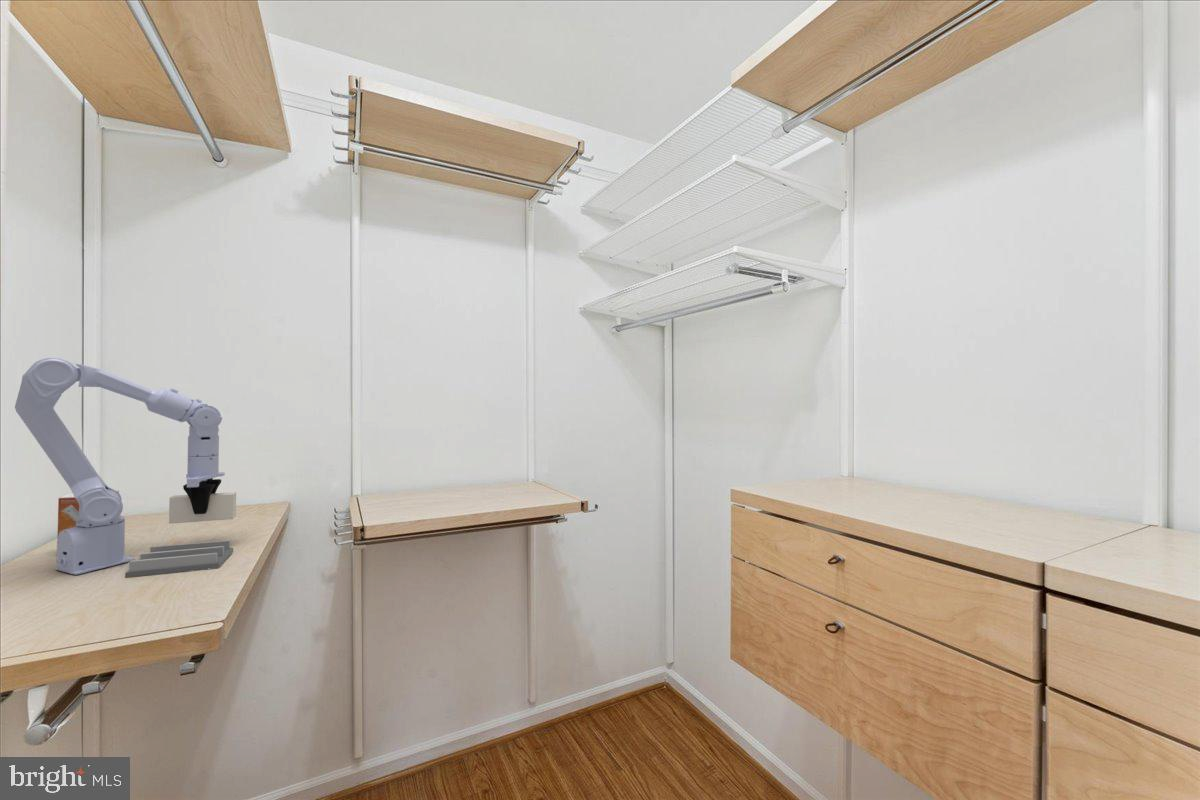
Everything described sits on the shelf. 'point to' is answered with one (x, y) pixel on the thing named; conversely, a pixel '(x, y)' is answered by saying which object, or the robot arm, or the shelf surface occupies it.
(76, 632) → the shelf surface
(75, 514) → the small box
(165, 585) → the shelf surface
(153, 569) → the ridged grey tray
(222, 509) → the long beige block
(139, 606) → the shelf surface
